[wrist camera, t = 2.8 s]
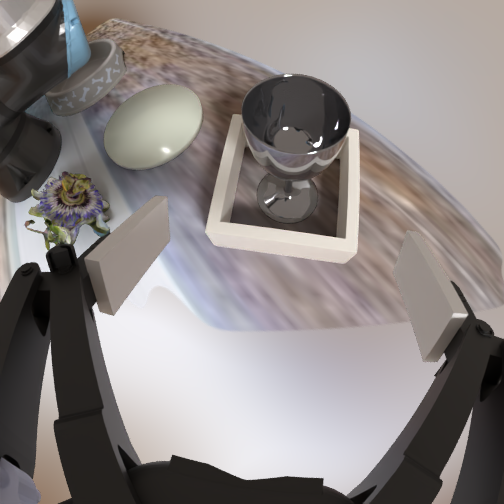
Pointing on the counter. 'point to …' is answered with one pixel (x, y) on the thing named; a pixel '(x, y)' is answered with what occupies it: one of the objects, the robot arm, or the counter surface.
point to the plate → (153, 127)
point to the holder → (278, 239)
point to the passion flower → (69, 208)
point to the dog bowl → (89, 80)
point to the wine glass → (293, 140)
